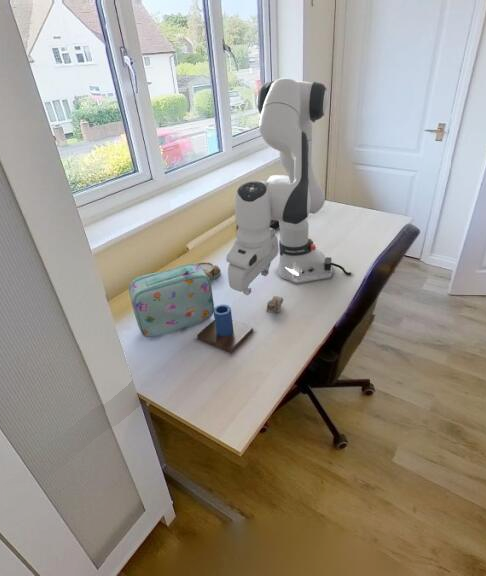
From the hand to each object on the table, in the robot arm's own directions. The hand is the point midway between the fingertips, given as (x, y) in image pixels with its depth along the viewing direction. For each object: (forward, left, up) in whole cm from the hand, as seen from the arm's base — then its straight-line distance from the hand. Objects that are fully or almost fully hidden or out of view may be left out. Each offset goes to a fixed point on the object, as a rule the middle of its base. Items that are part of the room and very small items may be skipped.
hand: (256, 283), depth 112 cm
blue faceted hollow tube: (+11, -6, -22) cm, 26 cm away
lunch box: (+28, -15, -24) cm, 40 cm away
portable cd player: (-3, -88, -24) cm, 92 cm away
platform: (+11, -6, -24) cm, 28 cm away
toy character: (-6, -18, -24) cm, 31 cm away
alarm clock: (+21, -44, -24) cm, 55 cm away
